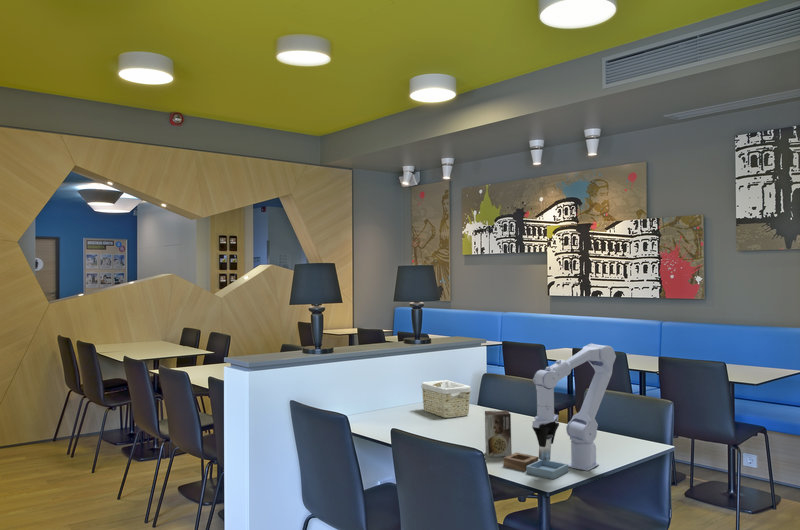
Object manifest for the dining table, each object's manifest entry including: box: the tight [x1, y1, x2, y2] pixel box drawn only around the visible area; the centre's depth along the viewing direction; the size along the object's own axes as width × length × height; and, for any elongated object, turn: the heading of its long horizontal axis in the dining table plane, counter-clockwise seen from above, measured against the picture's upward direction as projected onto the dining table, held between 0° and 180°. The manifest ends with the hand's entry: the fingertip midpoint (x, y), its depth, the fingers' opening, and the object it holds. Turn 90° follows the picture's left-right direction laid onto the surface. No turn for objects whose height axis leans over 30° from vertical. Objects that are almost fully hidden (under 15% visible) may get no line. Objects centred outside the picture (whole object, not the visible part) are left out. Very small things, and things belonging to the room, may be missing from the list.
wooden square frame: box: [502, 451, 539, 472], centre depth 223 cm, size 9×9×3 cm
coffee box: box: [484, 410, 513, 458], centre depth 238 cm, size 9×6×16 cm
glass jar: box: [538, 432, 553, 461], centre depth 216 cm, size 5×5×9 cm
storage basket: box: [420, 379, 472, 419], centre depth 312 cm, size 24×16×15 cm
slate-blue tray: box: [525, 459, 569, 480], centre depth 215 cm, size 11×10×2 cm
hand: (546, 444), depth 216 cm, fingers closed on glass jar, 5 cm apart
